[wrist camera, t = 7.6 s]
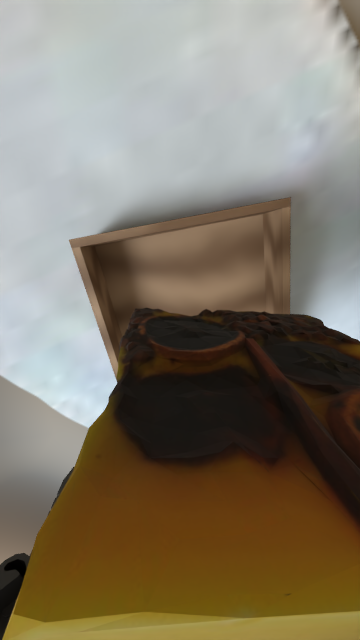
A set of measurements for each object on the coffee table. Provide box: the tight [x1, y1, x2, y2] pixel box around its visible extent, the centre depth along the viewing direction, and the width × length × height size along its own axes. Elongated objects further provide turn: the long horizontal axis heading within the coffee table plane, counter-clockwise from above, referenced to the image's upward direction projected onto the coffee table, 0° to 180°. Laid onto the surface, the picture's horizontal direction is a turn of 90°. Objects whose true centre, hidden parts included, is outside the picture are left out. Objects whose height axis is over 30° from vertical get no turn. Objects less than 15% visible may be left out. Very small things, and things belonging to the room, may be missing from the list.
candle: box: [2, 308, 360, 640], centre depth 9 cm, size 10×10×10 cm
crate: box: [69, 197, 291, 383], centre depth 27 cm, size 22×22×6 cm
